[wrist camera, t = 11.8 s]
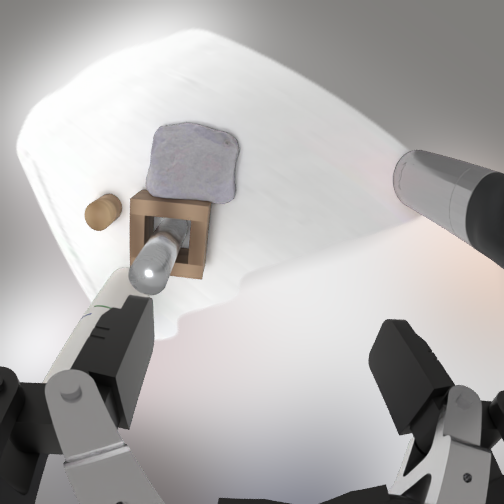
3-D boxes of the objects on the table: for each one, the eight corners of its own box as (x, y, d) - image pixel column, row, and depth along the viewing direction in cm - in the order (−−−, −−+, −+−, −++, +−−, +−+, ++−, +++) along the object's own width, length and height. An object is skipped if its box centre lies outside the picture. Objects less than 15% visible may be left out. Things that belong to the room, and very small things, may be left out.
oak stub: (122, 194, 40) (110, 203, 36) (121, 221, 42) (110, 232, 38) (97, 193, 40) (84, 200, 36) (98, 219, 41) (85, 229, 37)
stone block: (157, 126, 38) (149, 196, 40) (150, 119, 34) (141, 197, 36) (241, 132, 40) (233, 203, 42) (244, 126, 35) (235, 205, 37)
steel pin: (188, 215, 42) (167, 261, 28) (186, 242, 43) (166, 297, 30) (161, 212, 41) (127, 256, 28) (159, 238, 43) (129, 292, 29)
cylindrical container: (101, 277, 45) (26, 389, 22) (134, 260, 44) (64, 380, 21) (124, 311, 48) (70, 431, 25) (158, 297, 47) (113, 427, 24)
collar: (212, 197, 41) (208, 206, 36) (205, 263, 45) (201, 279, 40) (141, 189, 40) (130, 198, 35) (140, 255, 44) (130, 270, 39)
